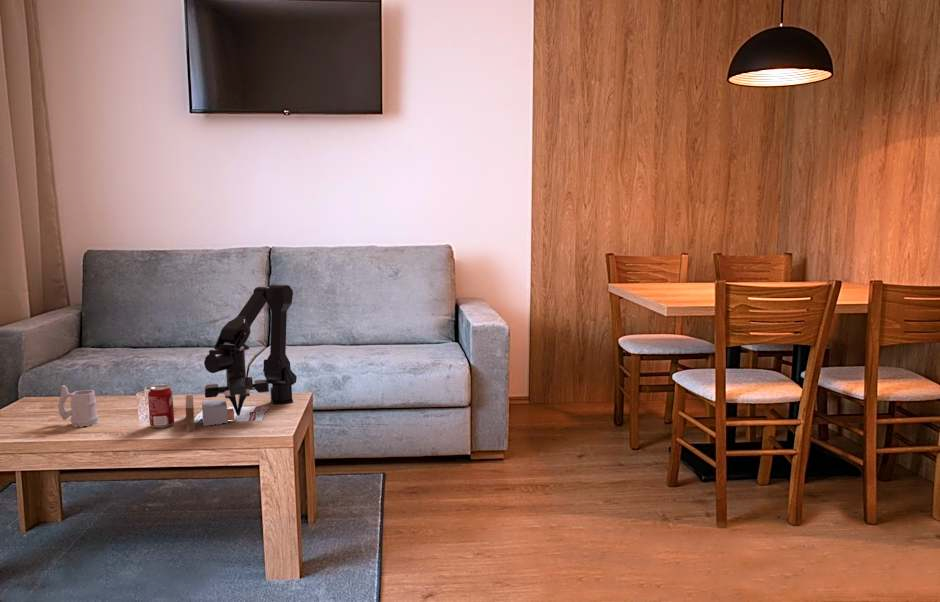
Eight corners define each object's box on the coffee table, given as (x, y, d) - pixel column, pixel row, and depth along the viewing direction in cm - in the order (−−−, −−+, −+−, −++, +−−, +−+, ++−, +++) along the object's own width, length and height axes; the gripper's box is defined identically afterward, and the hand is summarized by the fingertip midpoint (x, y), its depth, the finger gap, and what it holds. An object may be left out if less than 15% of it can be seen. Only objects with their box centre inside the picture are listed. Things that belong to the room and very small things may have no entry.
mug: (90, 427, 217) (87, 388, 215) (52, 427, 217) (48, 388, 216) (104, 420, 224) (101, 382, 223) (67, 420, 225) (64, 382, 223)
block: (226, 415, 228) (225, 399, 227) (227, 423, 219) (226, 406, 219) (202, 417, 225) (201, 401, 225) (203, 425, 217) (202, 408, 216)
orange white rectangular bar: (233, 418, 225) (233, 408, 225) (234, 421, 222) (233, 411, 222) (206, 421, 222) (205, 411, 222) (206, 424, 219) (206, 413, 219)
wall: (194, 416, 228) (192, 394, 227) (194, 430, 213) (192, 407, 212) (187, 417, 227) (186, 395, 226) (186, 431, 212) (185, 408, 211)
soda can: (169, 429, 215) (166, 389, 213) (146, 429, 215) (143, 389, 213) (177, 422, 221) (175, 384, 220) (155, 422, 221) (153, 384, 220)
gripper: (203, 374, 212) (207, 426, 214) (269, 368, 218) (272, 418, 220) (203, 366, 222) (206, 416, 224) (265, 361, 229) (268, 409, 231)
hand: (238, 415), depth 225 cm, fingers closed
